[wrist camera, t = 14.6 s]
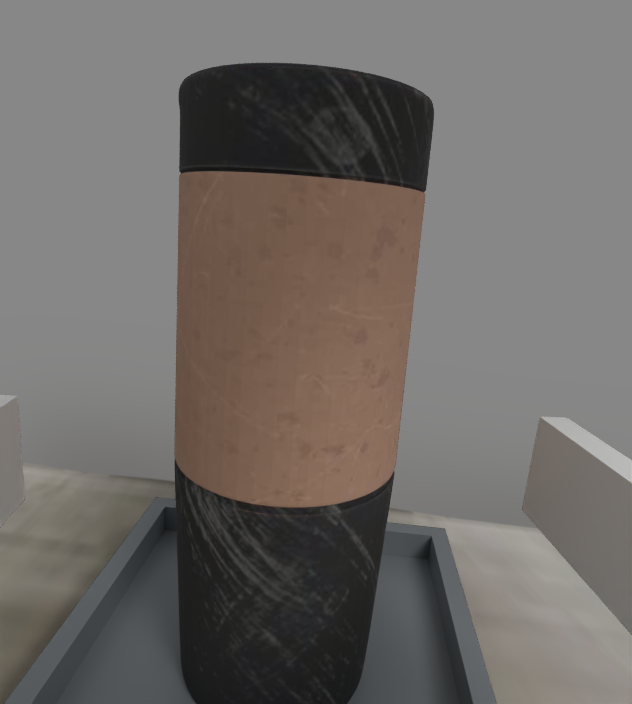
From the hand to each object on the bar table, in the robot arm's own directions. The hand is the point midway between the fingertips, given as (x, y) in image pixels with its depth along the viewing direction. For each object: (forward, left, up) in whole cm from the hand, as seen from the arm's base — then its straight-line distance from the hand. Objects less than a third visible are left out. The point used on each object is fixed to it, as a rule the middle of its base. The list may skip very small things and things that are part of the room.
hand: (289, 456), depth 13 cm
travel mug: (+4, -3, -11) cm, 12 cm away
